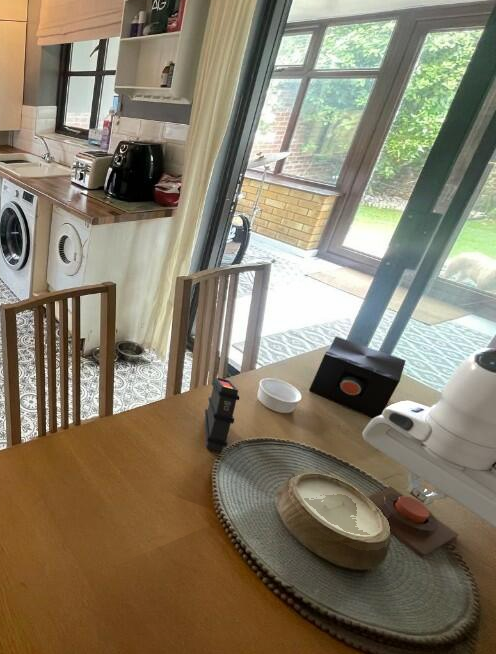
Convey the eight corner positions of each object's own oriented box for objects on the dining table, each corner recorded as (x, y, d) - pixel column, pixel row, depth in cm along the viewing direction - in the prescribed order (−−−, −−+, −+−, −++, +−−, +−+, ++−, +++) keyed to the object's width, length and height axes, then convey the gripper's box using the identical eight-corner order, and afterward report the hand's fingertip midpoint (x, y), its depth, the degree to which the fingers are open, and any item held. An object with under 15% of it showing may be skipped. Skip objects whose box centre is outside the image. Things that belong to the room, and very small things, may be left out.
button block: (451, 544, 72) (464, 528, 70) (416, 564, 69) (429, 548, 67) (384, 495, 81) (394, 479, 79) (351, 511, 78) (361, 495, 76)
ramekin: (287, 394, 107) (293, 381, 105) (302, 418, 99) (308, 404, 98) (250, 388, 109) (254, 375, 107) (261, 411, 101) (267, 398, 99)
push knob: (357, 398, 99) (363, 385, 97) (337, 390, 101) (343, 378, 100) (359, 393, 100) (365, 380, 99) (339, 385, 103) (345, 373, 101)
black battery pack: (206, 454, 87) (220, 386, 87) (199, 434, 100) (212, 375, 99) (226, 460, 86) (240, 391, 86) (217, 440, 98) (229, 379, 98)
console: (377, 420, 99) (399, 381, 94) (308, 390, 108) (325, 353, 103) (385, 397, 106) (405, 360, 101) (319, 371, 116) (335, 336, 111)
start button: (430, 519, 72) (435, 512, 71) (416, 526, 71) (421, 520, 70) (403, 499, 76) (407, 493, 75) (389, 506, 74) (393, 499, 74)
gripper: (568, 489, 58) (513, 549, 64) (395, 394, 75) (365, 448, 81) (545, 502, 56) (491, 563, 62) (374, 402, 73) (344, 457, 79)
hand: (418, 497), depth 72 cm, fingers closed
